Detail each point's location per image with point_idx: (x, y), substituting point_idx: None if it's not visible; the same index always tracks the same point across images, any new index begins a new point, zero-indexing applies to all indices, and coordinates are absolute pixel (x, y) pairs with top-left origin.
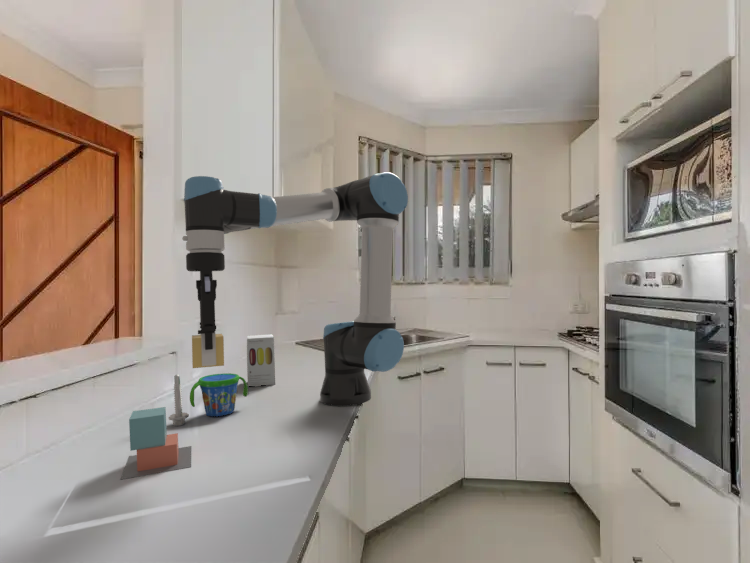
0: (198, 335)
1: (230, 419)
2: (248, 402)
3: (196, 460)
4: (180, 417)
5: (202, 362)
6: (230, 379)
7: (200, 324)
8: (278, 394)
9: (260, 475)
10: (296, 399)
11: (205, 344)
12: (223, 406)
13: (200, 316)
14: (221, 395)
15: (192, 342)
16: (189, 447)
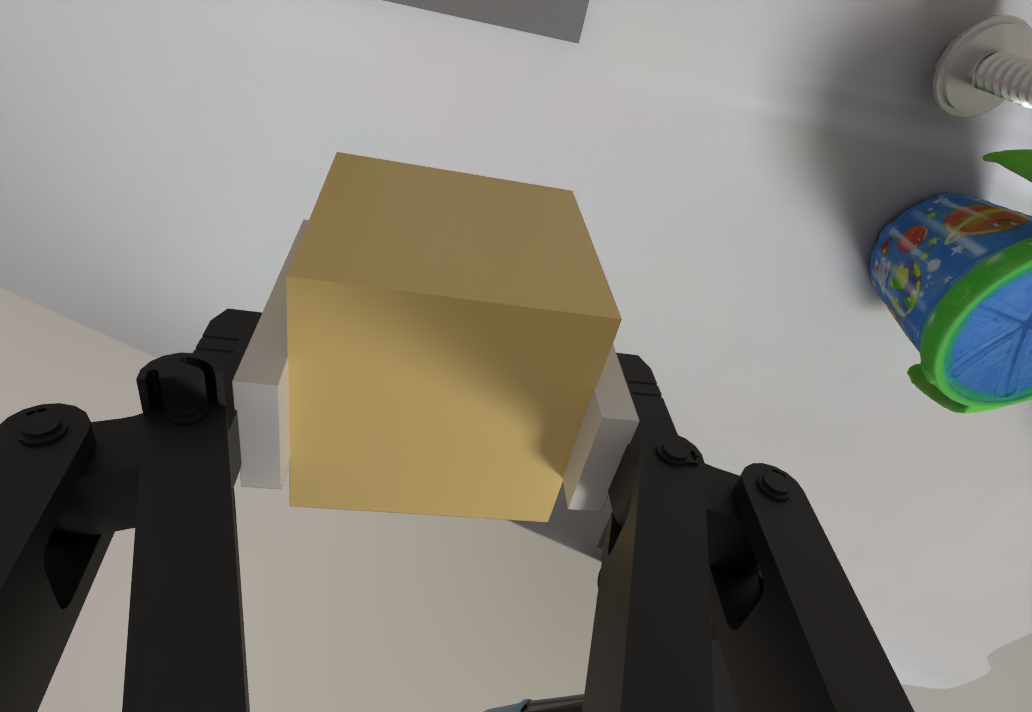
0: (560, 368)
1: (810, 258)
2: None
3: (438, 31)
4: (947, 71)
5: (299, 237)
6: (934, 363)
7: (759, 477)
8: (926, 460)
9: (172, 195)
10: (811, 482)
11: (200, 339)
12: (887, 266)
13: (775, 560)
14: (915, 285)
15: (297, 257)
16: (564, 31)
